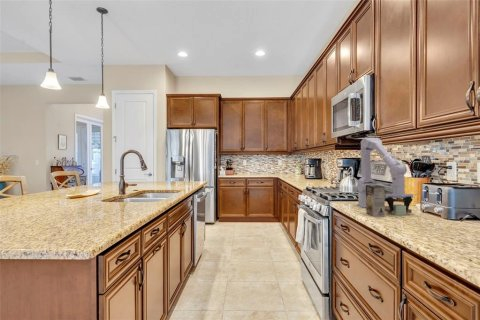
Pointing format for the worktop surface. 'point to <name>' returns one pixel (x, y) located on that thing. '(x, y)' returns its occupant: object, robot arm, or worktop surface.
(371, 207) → the coffee box
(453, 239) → the worktop surface
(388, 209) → the walnut board
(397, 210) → the sage block
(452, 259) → the worktop surface
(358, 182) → the robot arm
